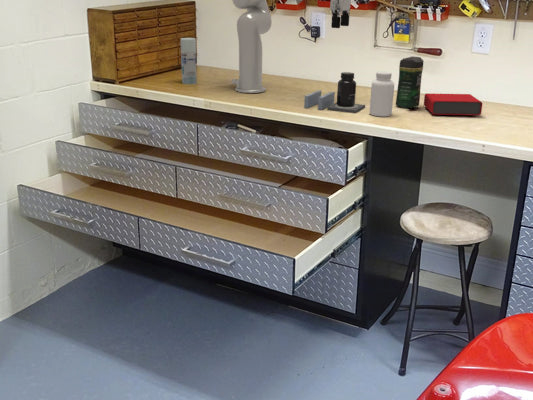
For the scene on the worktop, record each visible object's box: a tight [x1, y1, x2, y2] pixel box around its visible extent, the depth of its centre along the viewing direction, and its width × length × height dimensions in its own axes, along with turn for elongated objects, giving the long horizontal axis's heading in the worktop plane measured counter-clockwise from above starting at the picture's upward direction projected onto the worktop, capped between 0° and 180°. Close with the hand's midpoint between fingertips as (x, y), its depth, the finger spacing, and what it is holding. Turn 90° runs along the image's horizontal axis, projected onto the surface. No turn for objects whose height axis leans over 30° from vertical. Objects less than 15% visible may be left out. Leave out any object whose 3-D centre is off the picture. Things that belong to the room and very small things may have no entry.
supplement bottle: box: [336, 71, 357, 107], centre depth 234 cm, size 7×7×12 cm
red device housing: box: [423, 93, 483, 116], centre depth 237 cm, size 18×14×5 cm
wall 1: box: [303, 89, 322, 109], centre depth 241 cm, size 2×13×4 cm, turn 153°
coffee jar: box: [395, 56, 424, 109], centre depth 239 cm, size 10×8×19 cm
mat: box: [326, 102, 366, 114], centre depth 236 cm, size 11×11×1 cm
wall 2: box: [317, 91, 336, 111], centre depth 239 cm, size 2×13×4 cm, turn 153°
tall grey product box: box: [180, 37, 198, 85], centre depth 273 cm, size 6×6×20 cm
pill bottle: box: [369, 71, 395, 118], centre depth 226 cm, size 8×8×15 cm
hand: (340, 26), depth 239 cm, fingers open, 9 cm apart
